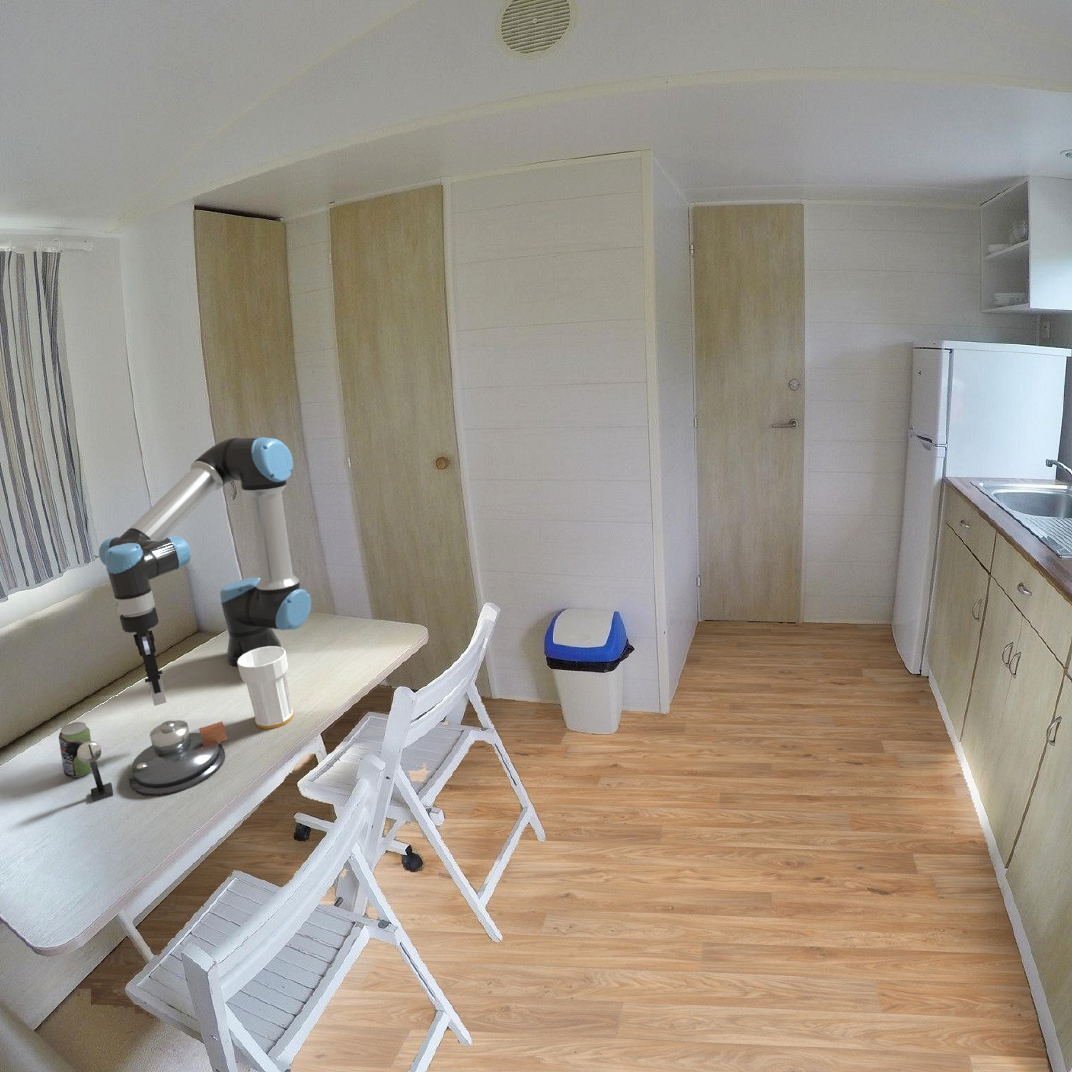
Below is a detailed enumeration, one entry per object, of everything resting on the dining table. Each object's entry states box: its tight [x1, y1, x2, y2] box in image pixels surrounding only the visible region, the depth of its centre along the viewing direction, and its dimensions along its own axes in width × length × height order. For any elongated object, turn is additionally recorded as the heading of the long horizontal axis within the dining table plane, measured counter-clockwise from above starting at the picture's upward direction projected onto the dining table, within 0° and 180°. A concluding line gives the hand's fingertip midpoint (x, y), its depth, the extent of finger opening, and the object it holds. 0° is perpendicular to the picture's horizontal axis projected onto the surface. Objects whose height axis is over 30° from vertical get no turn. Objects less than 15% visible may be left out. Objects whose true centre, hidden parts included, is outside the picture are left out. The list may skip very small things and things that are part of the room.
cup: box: [237, 646, 294, 730], centre depth 189 cm, size 11×11×17 cm
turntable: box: [131, 720, 228, 788], centre depth 173 cm, size 18×20×6 cm
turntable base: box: [128, 742, 226, 797], centre depth 174 cm, size 20×20×1 cm
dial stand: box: [77, 740, 114, 803], centre depth 165 cm, size 4×4×13 cm
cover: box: [149, 720, 191, 755], centre depth 177 cm, size 8×8×6 cm
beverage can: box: [58, 721, 92, 778], centre depth 174 cm, size 6×7×12 cm
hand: (160, 702), depth 182 cm, fingers closed
